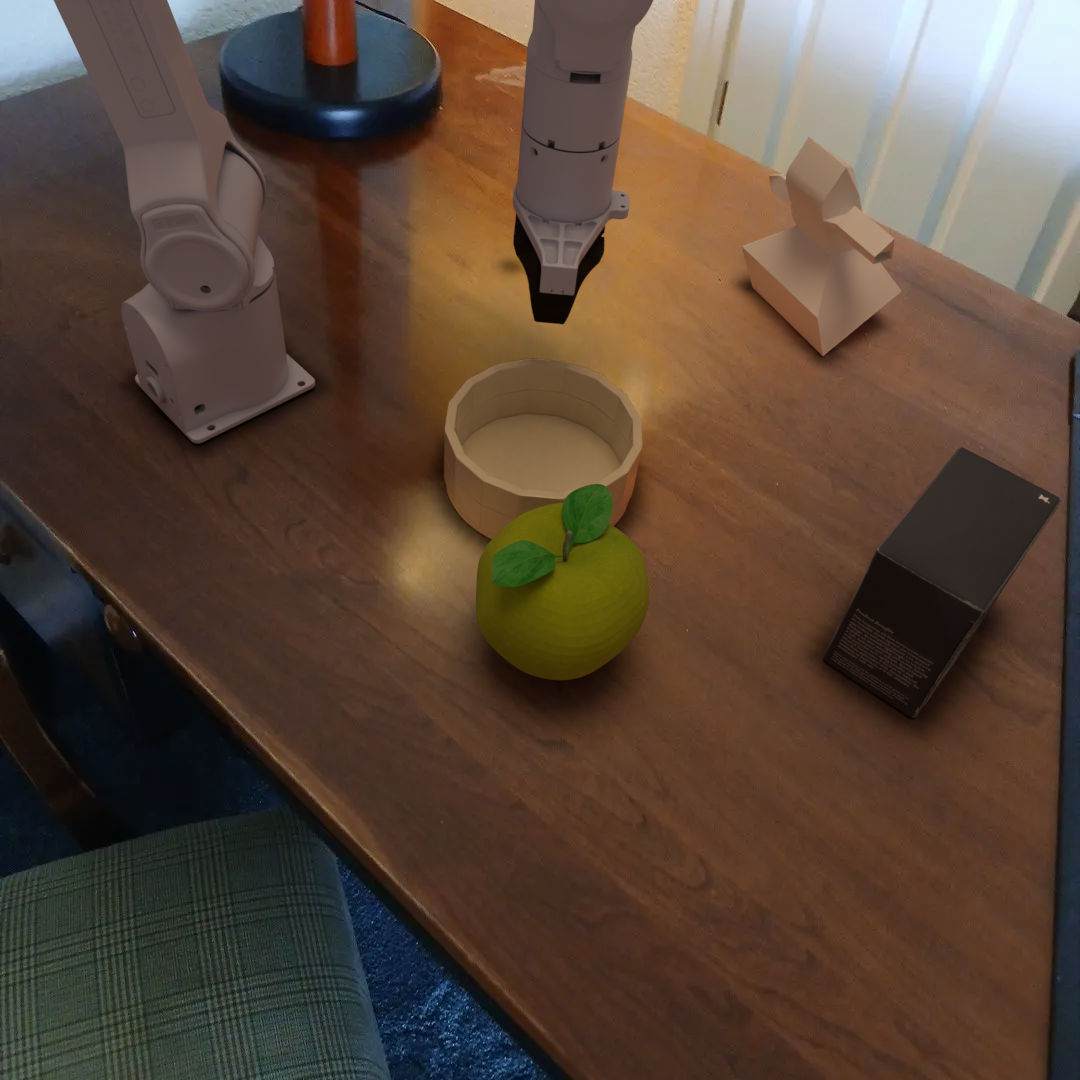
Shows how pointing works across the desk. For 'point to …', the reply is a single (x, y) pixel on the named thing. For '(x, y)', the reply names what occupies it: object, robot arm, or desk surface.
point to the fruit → (562, 588)
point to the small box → (937, 579)
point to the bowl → (537, 441)
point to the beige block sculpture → (822, 252)
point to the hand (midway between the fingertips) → (549, 316)
